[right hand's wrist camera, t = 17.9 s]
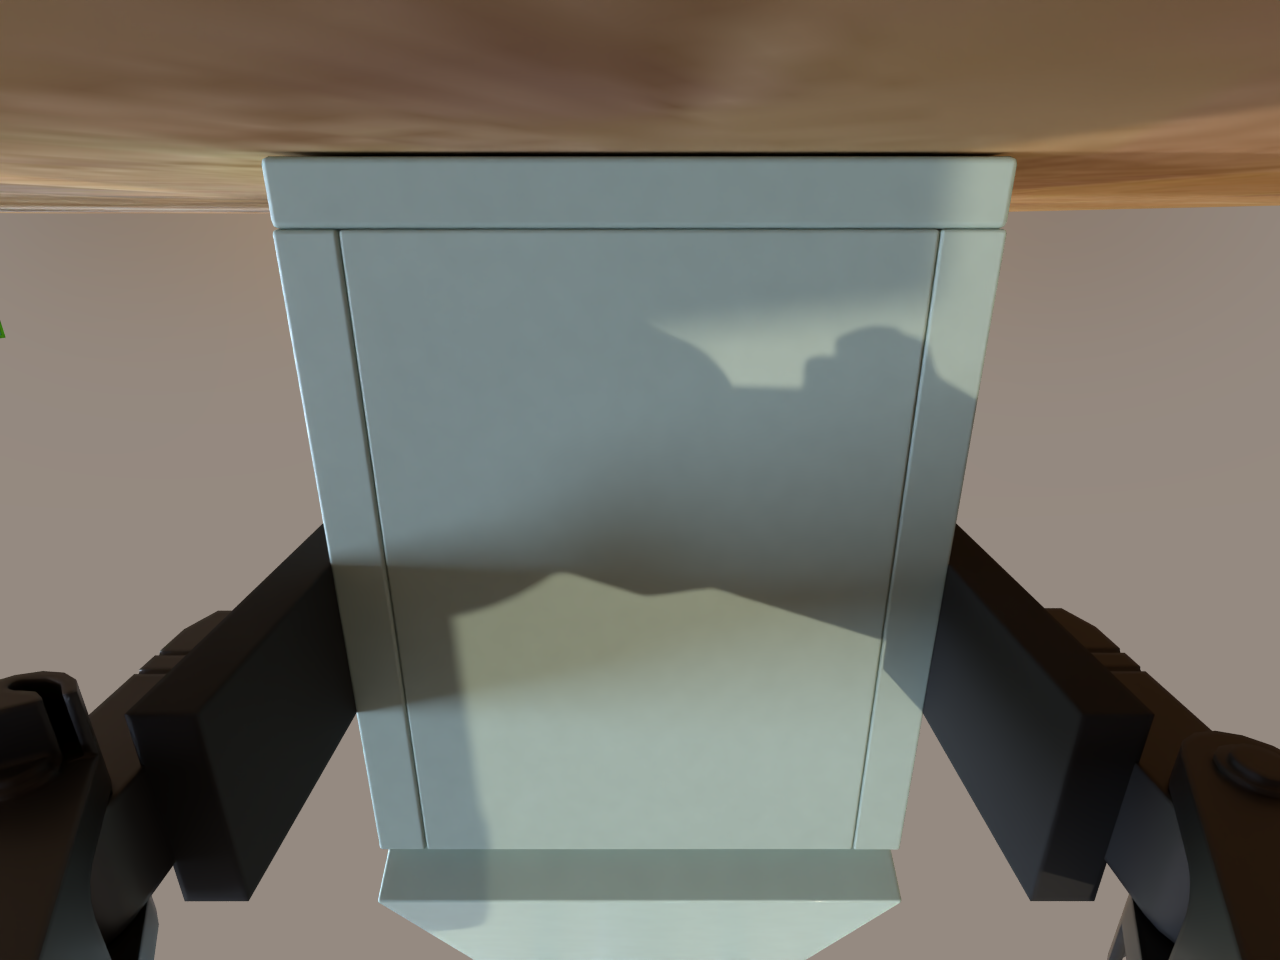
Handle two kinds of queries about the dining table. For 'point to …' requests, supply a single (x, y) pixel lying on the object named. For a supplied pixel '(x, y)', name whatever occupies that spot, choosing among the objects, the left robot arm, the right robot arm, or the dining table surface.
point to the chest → (639, 480)
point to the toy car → (1, 332)
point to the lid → (639, 901)
